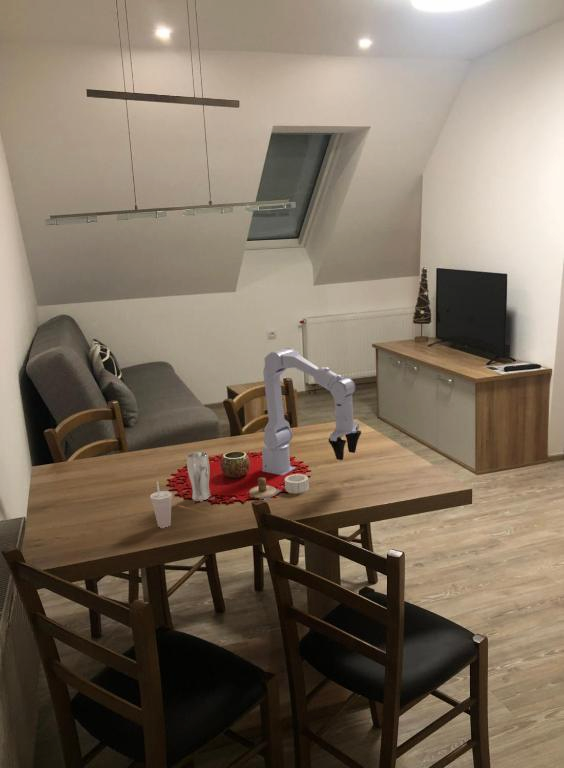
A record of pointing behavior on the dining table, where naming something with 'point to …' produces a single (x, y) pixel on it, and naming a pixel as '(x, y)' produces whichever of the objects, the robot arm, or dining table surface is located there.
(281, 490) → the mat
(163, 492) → the smoothie
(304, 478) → the bowl
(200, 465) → the beer glass
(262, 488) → the lid
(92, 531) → the dining table surface
